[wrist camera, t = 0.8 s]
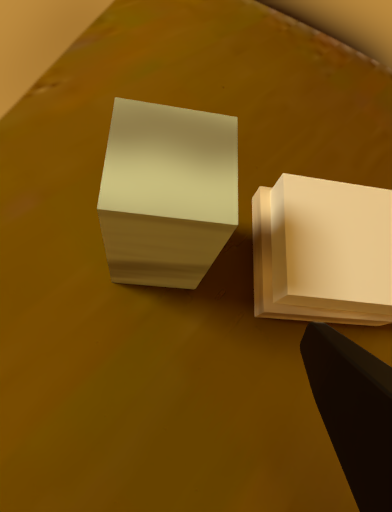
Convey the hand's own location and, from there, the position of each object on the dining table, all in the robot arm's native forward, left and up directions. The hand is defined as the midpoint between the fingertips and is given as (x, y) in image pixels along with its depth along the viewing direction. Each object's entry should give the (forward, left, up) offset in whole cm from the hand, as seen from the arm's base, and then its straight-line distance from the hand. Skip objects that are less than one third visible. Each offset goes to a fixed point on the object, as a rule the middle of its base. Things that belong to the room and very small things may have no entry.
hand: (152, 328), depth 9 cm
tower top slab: (+1, -16, -13) cm, 20 cm away
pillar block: (+7, -5, -15) cm, 17 cm away
